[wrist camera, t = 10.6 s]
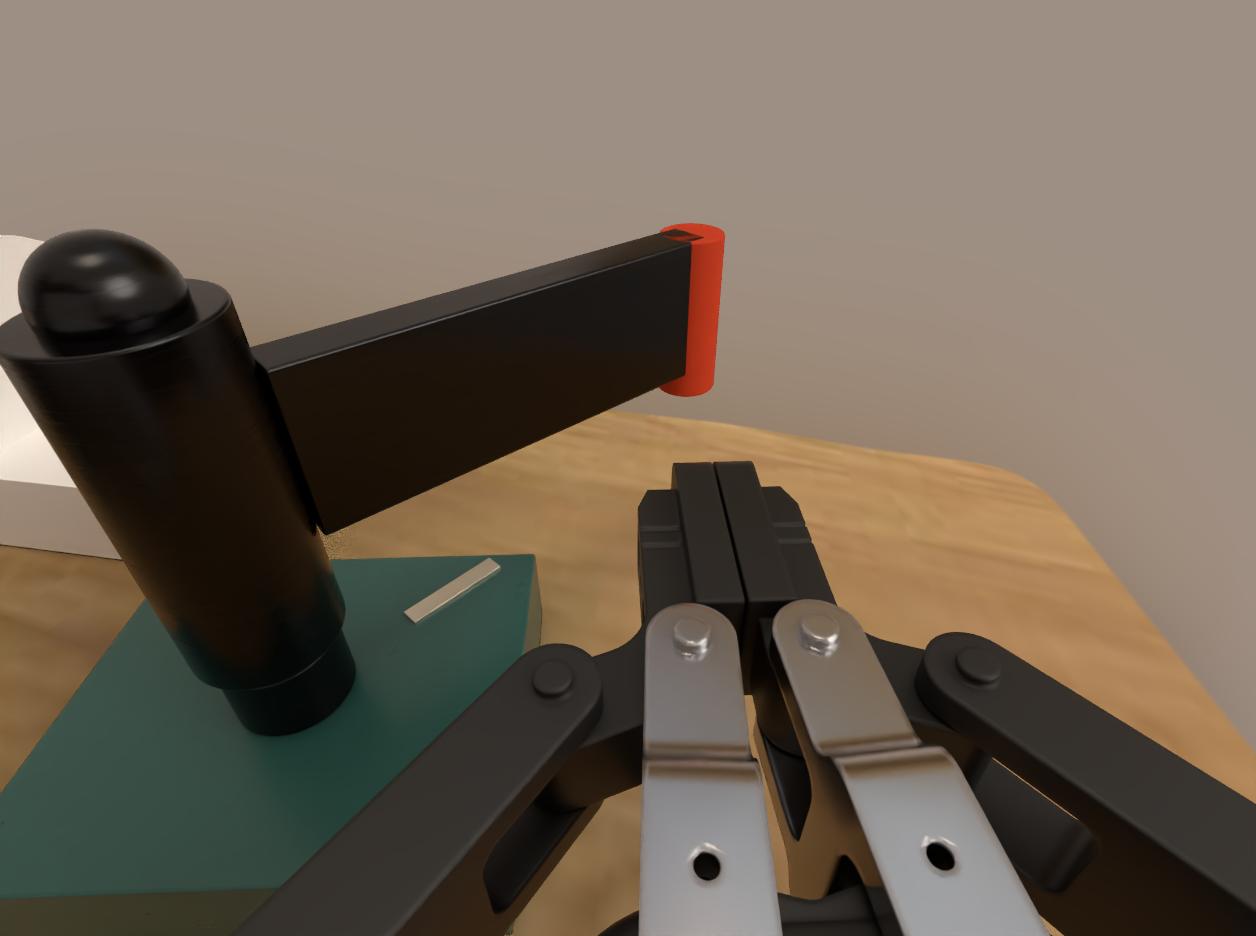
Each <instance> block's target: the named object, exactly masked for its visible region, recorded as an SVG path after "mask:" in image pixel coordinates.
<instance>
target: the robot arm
mask: <svg viewBox="0 0 1256 936" xmlns="http://www.w3.org/2000/svg"><path fill="white" fill-rule="evenodd" d="M638 579H639V593H640V608H641V623H642V626H641V628H640V630H639V631H638V633H637V634H636V635H635V636H634V637H633V638H632V639H631V640H630V641H628V642H627V643H626V644H624V645H622V646H621V647H619V648H617V649H614V650H612V651H609V652H606V653H603V654H600V655H597V656H594V657H592V656H591V655H590V654H588V653H587V652H585V651H584V650H582V649H580V648H578V647H575V646H572V645H568V644H547V645H543V646H539V647H537V648H534V649H532V650H530V651H528V652H527V653H525V654H523V655H522V656H521V657H520V658H518V659H517V660H516V661H515V662H514V663H513V664H512V665H511V666H510V667H509V668H508V669H507V670H506V671H505V672H504V673H503V674H502V675H501V676H500V677H499V678H498V679H496V680H495V681H494V682H493V683H492V684H491V685H490V686H489V687H488V688H487V689H486V690H485V691H484V692H483V693H482V694H481V695H480V696H479V697H478V698H477V699H476V700H475V701H474V702H472V703H471V704H470V705H469V706H468V707H467V708H466V709H465V710H464V711H463V712H462V713H461V714H460V715H459V716H458V717H457V718H456V719H455V720H454V721H453V722H452V723H451V724H450V725H448V726H447V727H446V728H445V729H444V730H443V731H442V732H441V733H440V734H439V735H438V736H437V737H436V738H435V739H434V740H433V741H432V742H431V743H430V744H429V745H428V746H427V747H426V748H424V749H423V750H422V751H421V752H420V753H419V754H418V755H417V756H416V757H415V758H414V759H413V760H412V761H411V762H410V763H409V764H408V765H407V766H406V767H405V768H404V769H403V770H402V771H400V772H399V773H398V774H397V775H396V776H395V777H394V778H393V779H392V780H391V781H390V782H389V783H388V784H387V785H386V786H385V787H384V788H383V789H382V790H381V791H380V792H379V793H378V794H377V795H375V796H374V797H373V798H372V799H371V800H370V801H369V802H368V803H367V804H366V805H365V806H364V807H363V808H362V809H361V810H360V811H359V812H358V813H357V814H356V815H355V816H354V817H353V818H351V819H350V820H349V821H348V822H347V823H346V824H345V825H344V826H343V827H342V828H341V829H340V830H339V831H338V832H337V833H336V834H335V835H334V836H333V837H332V838H331V839H330V840H329V841H327V842H326V843H325V844H324V845H323V846H322V847H321V848H320V849H319V850H318V851H317V852H316V853H315V854H314V855H313V856H312V857H311V858H310V859H309V860H308V861H307V862H306V863H305V864H303V865H302V866H301V867H300V868H299V869H298V870H297V871H296V872H295V873H294V874H293V875H292V876H291V877H290V878H289V879H288V880H287V881H286V882H285V883H284V884H283V885H282V886H281V887H280V888H278V889H277V890H276V891H275V892H274V893H273V894H272V895H271V896H270V897H269V898H268V899H267V900H266V901H265V902H264V903H263V904H262V905H261V906H260V907H259V908H258V909H257V910H256V911H254V912H253V913H252V914H251V915H250V916H249V917H248V918H247V919H246V920H245V921H244V922H243V923H242V924H241V925H240V926H239V927H238V928H237V929H236V930H235V931H234V932H233V933H232V934H230V935H229V936H503V935H504V934H505V933H506V931H507V930H508V929H509V927H510V926H511V925H512V923H513V922H514V921H515V919H516V918H517V917H518V915H519V914H520V913H521V912H522V910H523V909H524V908H525V906H526V905H527V904H528V902H529V901H530V900H531V898H532V897H533V896H534V894H535V893H536V892H537V890H538V889H539V888H540V886H541V885H542V884H543V882H544V881H545V880H546V878H547V877H548V876H549V875H550V873H551V872H552V871H553V869H554V868H555V867H556V865H557V864H558V863H559V861H560V860H561V859H562V857H563V856H564V855H565V853H566V852H567V851H568V849H569V848H570V847H571V845H572V844H573V843H574V841H575V840H576V839H577V837H578V836H579V835H580V834H581V832H582V831H583V830H584V828H585V827H586V826H587V824H588V823H589V822H590V820H591V819H592V818H593V816H594V815H595V814H596V812H597V811H598V810H599V808H600V806H601V805H602V803H603V801H604V799H606V798H608V797H611V796H613V795H616V794H618V793H621V792H623V791H626V790H628V789H631V788H633V787H636V786H638V785H641V784H642V807H641V852H640V897H639V911H636V912H634V913H632V914H630V915H628V916H626V917H624V918H622V919H621V920H619V921H617V922H615V923H614V924H612V925H611V926H610V927H608V928H607V929H606V930H604V931H603V932H602V933H600V934H599V935H598V936H1052V935H1050V934H1049V932H1048V930H1047V928H1046V927H1045V925H1044V923H1043V921H1042V919H1041V917H1040V916H1042V917H1043V918H1044V919H1045V920H1046V921H1047V922H1049V923H1050V924H1051V925H1052V926H1053V927H1055V928H1056V929H1057V930H1058V931H1059V932H1061V933H1062V934H1063V935H1064V936H1256V804H1255V803H1253V802H1252V801H1250V800H1248V799H1247V798H1245V797H1244V796H1242V795H1240V794H1239V793H1237V792H1235V791H1234V790H1232V789H1231V788H1229V787H1227V786H1226V785H1224V784H1223V783H1221V782H1219V781H1218V780H1216V779H1214V778H1213V777H1211V776H1210V775H1208V774H1206V773H1205V772H1203V771H1202V770H1200V769H1198V768H1197V767H1195V766H1193V765H1192V764H1190V763H1189V762H1187V761H1185V760H1184V759H1182V758H1181V757H1179V756H1177V755H1176V754H1174V753H1172V752H1171V751H1169V750H1168V749H1166V748H1164V747H1163V746H1161V745H1159V744H1158V743H1156V742H1155V741H1153V740H1151V739H1150V738H1148V737H1147V736H1145V735H1143V734H1142V733H1140V732H1138V731H1137V730H1135V729H1134V728H1132V727H1130V726H1129V725H1127V724H1126V723H1124V722H1122V721H1121V720H1119V719H1117V718H1116V717H1114V716H1113V715H1111V714H1109V713H1108V712H1106V711H1105V710H1103V709H1101V708H1100V707H1098V706H1096V705H1095V704H1093V703H1092V702H1090V701H1088V700H1087V699H1085V698H1084V697H1082V696H1080V695H1079V694H1077V693H1075V692H1074V691H1072V690H1071V689H1069V688H1067V687H1066V686H1064V685H1062V684H1061V683H1059V682H1058V681H1056V680H1054V679H1053V678H1051V677H1050V676H1048V675H1046V674H1045V673H1043V672H1041V671H1040V670H1038V669H1037V668H1035V667H1033V666H1032V665H1030V664H1029V663H1027V662H1025V661H1024V660H1022V659H1020V658H1019V657H1017V656H1016V655H1014V654H1012V653H1011V652H1009V651H1008V650H1006V649H1004V648H1003V647H1001V646H999V645H998V644H996V643H994V642H992V641H990V640H988V639H986V638H983V637H981V636H978V635H974V634H970V633H964V632H950V633H945V634H941V635H939V636H937V637H935V638H934V639H932V640H931V641H930V642H929V644H928V645H927V647H926V650H923V649H919V648H915V647H910V646H906V645H902V644H897V643H893V642H889V641H885V640H882V639H879V638H876V637H874V636H871V635H869V634H867V633H865V632H864V631H863V629H862V627H861V626H860V624H859V623H858V622H857V620H856V619H855V618H854V617H853V616H852V615H851V614H849V613H848V612H847V611H845V610H844V609H842V608H840V607H838V606H837V604H836V602H835V599H834V597H833V594H832V591H831V589H830V586H829V584H828V581H827V578H826V576H825V573H824V571H823V568H822V565H821V563H820V560H819V558H818V555H817V552H816V550H815V547H814V545H813V543H812V542H811V537H810V534H809V531H808V529H807V527H805V521H804V518H803V516H802V513H801V511H800V508H799V505H798V503H797V502H796V501H795V500H794V499H793V498H792V497H791V496H790V495H789V494H788V493H786V492H785V491H784V490H783V489H782V488H781V487H780V486H775V487H761V486H760V483H759V479H758V476H757V473H756V470H755V467H754V464H753V462H752V461H732V462H713V464H712V463H711V462H699V463H673V466H672V483H671V489H669V490H647V492H646V494H645V496H644V497H643V499H642V501H641V503H640V505H639V507H638ZM744 695H752V696H753V700H754V705H755V709H756V718H755V724H754V740H755V744H756V747H757V751H758V754H759V758H760V761H761V765H762V768H763V772H764V775H765V779H766V782H767V785H768V789H769V792H770V796H771V799H772V803H773V806H774V810H775V813H776V817H777V820H778V824H779V827H780V830H781V834H782V837H783V841H784V844H785V848H786V853H787V859H788V868H789V887H790V894H791V896H790V895H786V894H782V893H778V892H777V888H776V880H775V872H774V865H773V857H772V849H771V841H770V834H769V826H768V818H767V810H766V803H765V795H764V787H763V780H762V774H761V769H760V765H759V762H758V760H757V759H756V758H753V757H752V754H751V749H750V741H749V733H748V724H747V716H746V708H745V699H744ZM992 758H995V759H996V760H997V761H999V762H1000V763H1002V764H1003V765H1004V766H1006V767H1007V768H1008V769H1010V770H1011V771H1013V772H1014V773H1015V774H1017V775H1018V776H1019V777H1021V778H1022V779H1024V780H1025V781H1026V782H1028V783H1029V784H1030V785H1032V786H1033V787H1034V788H1036V789H1037V790H1039V791H1040V792H1041V793H1043V794H1044V795H1045V796H1047V797H1048V798H1050V799H1051V800H1052V801H1054V802H1055V803H1056V804H1058V805H1059V806H1061V807H1062V808H1063V809H1065V810H1066V811H1067V812H1069V813H1070V814H1072V815H1073V816H1074V817H1076V818H1077V819H1078V820H1077V819H1075V818H1073V817H1072V816H1070V815H1069V814H1068V813H1066V812H1065V811H1063V810H1062V809H1061V808H1059V807H1058V806H1057V805H1055V804H1054V803H1052V802H1051V801H1050V800H1048V799H1047V798H1046V797H1044V796H1043V795H1042V794H1040V793H1039V792H1037V791H1036V790H1035V789H1033V788H1032V787H1031V786H1029V785H1028V784H1026V783H1025V782H1024V781H1022V780H1021V779H1020V778H1018V777H1017V776H1015V775H1014V774H1013V773H1011V772H1010V771H1009V770H1007V769H1006V768H1005V767H1003V766H1002V765H1000V764H999V763H998V762H996V761H995V760H994V759H992ZM1079 820H1080V821H1079ZM1039 915H1040V916H1039Z"/></svg>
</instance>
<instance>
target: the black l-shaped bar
mask: <svg viewBox="0 0 1256 936" xmlns="http://www.w3.org/2000/svg"><path fill="white" fill-rule="evenodd" d="M724 241H725V234H724V232H723V231H722V230H721V229H719V228H717V227H714V226H710V225H704V224H693V223H688V224H677V225H672V226H668V227H666V228H663V229H662V230H661V231H660V233H658V234H654V235H651V236H647V237H643V238H640V239H636V240H633V241H629V242H626V243H622V244H618V245H615V246H611V247H608V248H604V249H601V250H597V251H593V252H590V253H587V254H583V255H579V256H575V257H572V258H568V259H565V260H561V261H558V262H554V263H550V264H547V265H543V266H540V267H536V268H533V269H529V270H526V271H522V272H519V273H515V274H511V275H507V276H504V277H501V278H497V279H493V280H490V281H486V282H482V283H479V284H476V285H472V286H469V287H465V288H461V289H458V290H454V291H450V292H447V293H443V294H440V295H436V296H433V297H429V298H426V299H422V300H418V301H415V302H411V303H408V304H404V305H400V306H397V307H394V308H390V309H386V310H383V311H379V312H375V313H372V314H368V315H364V316H361V317H357V318H354V319H350V320H346V321H343V322H339V323H336V324H332V325H329V326H325V327H321V328H318V329H314V330H311V331H308V332H304V333H300V334H296V335H293V336H289V337H286V338H282V339H279V340H275V341H271V342H268V343H265V344H261V345H257V346H253V347H249V344H248V341H247V339H246V336H245V333H244V331H243V328H242V325H241V322H240V320H239V317H238V314H237V312H236V309H235V306H234V304H233V301H232V299H231V296H230V295H229V293H228V292H227V291H226V290H225V289H224V288H223V287H221V286H219V285H217V284H215V283H211V282H208V281H202V280H196V279H184V278H183V276H182V275H181V273H180V272H179V270H178V269H177V268H176V267H175V265H174V264H173V263H172V262H171V261H170V260H169V259H168V258H167V257H166V256H165V255H163V254H162V253H161V252H159V251H158V250H156V249H155V248H154V247H152V246H151V245H149V244H147V243H145V242H144V241H141V240H139V239H137V238H134V237H132V236H129V235H126V234H123V233H119V232H115V231H109V230H101V229H83V230H75V231H70V232H66V233H63V234H60V235H58V236H55V237H53V238H51V239H49V240H47V241H46V242H44V243H43V244H41V245H40V246H39V247H37V248H36V249H35V250H34V251H33V252H32V253H31V254H30V256H29V257H28V258H27V260H26V261H25V263H24V265H23V267H22V270H21V272H20V276H19V279H18V300H19V305H20V308H21V311H22V312H21V313H20V314H18V315H16V316H14V317H12V318H11V319H9V320H8V321H6V322H4V323H3V324H2V325H1V326H0V365H1V367H2V369H3V370H4V372H5V373H6V375H7V377H8V378H9V380H10V381H11V383H12V385H13V386H14V388H15V389H16V391H17V393H18V394H19V396H20V397H21V399H22V401H23V402H24V404H25V405H26V407H27V409H28V410H29V412H30V413H31V415H32V417H33V418H34V420H35V421H36V423H37V425H38V426H39V428H40V429H41V431H42V433H43V434H44V436H45V437H46V439H47V440H48V442H49V444H50V445H51V447H52V448H53V450H54V452H55V453H56V455H57V456H58V458H59V460H60V461H61V463H62V464H63V466H64V468H65V469H66V471H67V472H68V474H69V476H70V477H71V479H72V480H73V482H74V484H75V485H76V487H77V488H78V490H79V492H80V493H81V495H82V496H83V498H84V500H85V501H86V503H87V504H88V506H89V508H90V509H91V511H92V512H93V514H94V516H95V517H96V519H97V520H98V522H99V524H100V525H101V527H102V528H103V530H104V532H105V533H106V535H107V536H108V538H109V539H110V541H111V543H112V544H113V546H114V547H115V549H116V551H117V552H118V554H119V555H120V557H121V559H122V560H123V562H124V563H125V565H126V567H127V568H128V570H129V571H130V573H131V575H132V576H133V578H134V579H135V581H136V583H137V584H138V586H139V587H140V589H141V591H142V592H143V594H144V595H145V597H146V599H147V600H148V602H149V603H150V605H151V607H152V608H153V610H154V611H155V613H156V615H157V616H158V618H159V619H160V621H161V623H162V624H163V626H164V627H165V629H166V631H167V632H168V634H169V635H170V637H171V639H172V640H173V642H174V643H175V645H176V646H177V648H178V650H179V651H180V653H181V654H182V656H183V658H184V659H185V661H186V662H187V664H188V666H189V667H190V669H191V670H192V672H193V674H194V675H195V676H196V677H197V678H198V679H199V680H201V681H202V682H203V683H205V684H207V685H210V686H212V687H215V688H218V689H222V690H231V691H242V690H251V689H257V688H262V687H265V686H269V685H272V684H275V683H278V682H280V681H283V680H285V679H287V678H289V677H291V676H293V675H295V674H297V673H299V672H300V671H302V670H304V669H305V668H307V667H308V666H309V665H311V664H312V663H314V662H315V661H316V660H317V659H318V658H319V657H321V656H322V655H323V654H324V653H325V652H326V651H327V650H328V649H329V648H330V646H331V645H332V644H333V642H334V641H335V640H336V638H337V636H338V635H339V633H340V631H341V629H342V626H343V623H344V620H345V614H346V606H345V601H344V598H343V595H342V593H341V590H340V587H339V585H338V582H337V579H336V577H335V574H334V571H333V569H332V566H331V563H330V561H329V558H328V555H327V553H326V550H325V547H324V545H323V542H322V539H321V537H320V534H319V531H318V529H317V526H318V527H319V529H320V530H321V531H322V533H323V534H325V535H329V534H331V533H334V532H336V531H338V530H340V529H343V528H345V527H347V526H349V525H352V524H354V523H356V522H358V521H361V520H363V519H365V518H367V517H369V516H372V515H374V514H376V513H378V512H381V511H383V510H385V509H387V508H390V507H392V506H394V505H396V504H399V503H401V502H403V501H405V500H408V499H410V498H412V497H414V496H416V495H419V494H421V493H423V492H425V491H428V490H430V489H432V488H434V487H437V486H439V485H441V484H443V483H446V482H448V481H450V480H452V479H454V478H457V477H459V476H461V475H463V474H466V473H468V472H470V471H472V470H475V469H477V468H479V467H481V466H484V465H486V464H488V463H490V462H493V461H495V460H497V459H499V458H501V457H504V456H506V455H508V454H510V453H513V452H515V451H517V450H519V449H522V448H524V447H526V446H528V445H531V444H533V443H535V442H537V441H540V440H542V439H544V438H546V437H548V436H551V435H553V434H555V433H557V432H560V431H562V430H564V429H566V428H569V427H571V426H573V425H575V424H578V423H580V422H582V421H584V420H586V419H589V418H591V417H593V416H595V415H598V414H600V413H602V412H604V411H607V410H609V409H611V408H613V407H616V406H618V405H620V404H622V403H625V402H627V401H629V400H631V399H633V398H635V397H638V396H640V395H642V394H644V393H647V392H649V391H651V390H654V389H655V388H658V387H659V388H660V389H661V390H662V391H664V392H666V393H668V394H671V395H675V396H683V397H690V396H697V395H701V394H704V393H706V392H708V391H709V390H710V389H711V388H712V386H713V382H714V369H715V356H716V344H717V330H718V318H719V305H720V292H721V280H722V267H723V254H724ZM316 525H317V526H316Z"/></svg>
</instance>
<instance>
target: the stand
mask: <svg viewBox="0 0 1256 936" xmlns="http://www.w3.org/2000/svg"><path fill="white" fill-rule="evenodd" d="M329 561H330V563H331V566H332V569H333V571H334V574H335V577H336V579H337V582H338V585H339V587H340V590H341V593H342V595H343V598H344V601H345V606H346V614H345V620H344V623H343V626H342V629H341V631H340V633H339V635H338V636H337V638H336V640H335V641H334V642H333V644H332V645H331V646H330V648H329V649H328V650H327V651H326V652H325V653H324V654H323V655H322V656H321V657H319V658H318V659H317V660H316V661H315V662H314V663H312V664H311V665H309V666H308V667H307V668H305V669H304V670H302V671H300V672H299V673H297V674H295V675H293V676H291V677H289V678H287V679H285V680H283V681H280V682H278V683H275V684H272V685H269V686H265V687H262V688H257V689H251V690H242V691H231V690H222V689H218V688H215V687H212V686H210V685H207V684H205V683H203V682H202V681H201V680H199V679H198V678H197V677H196V676H195V675H194V674H193V672H192V670H191V669H190V667H189V666H188V664H187V662H186V661H185V659H184V658H183V656H182V654H181V653H180V651H179V650H178V648H177V646H176V645H175V643H174V642H173V640H172V639H171V637H170V635H169V634H168V632H167V631H166V629H165V627H164V626H163V624H162V623H161V621H160V619H159V618H158V616H157V615H156V613H155V611H154V610H153V608H152V607H151V605H150V603H149V602H148V600H147V599H146V598H145V600H144V601H143V602H142V604H141V605H140V606H139V608H138V609H137V610H136V612H135V613H134V614H133V616H132V617H131V619H130V620H129V621H128V623H127V624H126V625H125V627H124V628H123V629H122V631H121V632H120V633H119V635H118V636H117V637H116V639H115V640H114V641H113V643H112V644H111V645H110V647H109V648H108V650H107V651H106V652H105V654H104V655H103V656H102V658H101V659H100V660H99V662H98V663H97V664H96V666H95V667H94V668H93V670H92V671H91V672H90V674H89V675H88V676H87V678H86V679H85V680H84V682H83V683H82V685H81V686H80V687H79V689H78V690H77V691H76V693H75V694H74V695H73V697H72V698H71V699H70V701H69V702H68V703H67V705H66V706H65V707H64V709H63V710H62V711H61V713H60V714H59V716H58V717H57V718H56V720H55V721H54V722H53V724H52V725H51V726H50V728H49V729H48V730H47V732H46V733H45V734H44V736H43V737H42V738H41V740H40V741H39V742H38V744H37V745H36V746H35V748H34V749H33V751H32V752H31V753H30V755H29V756H28V757H27V759H26V760H25V761H24V763H23V764H22V765H21V767H20V768H19V769H18V771H17V772H16V773H15V775H14V776H13V777H12V779H11V780H10V781H9V783H8V784H7V786H6V787H5V788H4V790H3V791H2V792H1V794H0V936H229V935H230V934H232V933H233V932H234V931H235V930H236V929H237V928H238V927H239V926H240V925H241V924H242V923H243V922H244V921H245V920H246V919H247V918H248V917H249V916H250V915H251V914H252V913H253V912H254V911H256V910H257V909H258V908H259V907H260V906H261V905H262V904H263V903H264V902H265V901H266V900H267V899H268V898H269V897H270V896H271V895H272V894H273V893H274V892H275V891H276V890H277V889H278V888H280V887H281V886H282V885H283V884H284V883H285V882H286V881H287V880H288V879H289V878H290V877H291V876H292V875H293V874H294V873H295V872H296V871H297V870H298V869H299V868H300V867H301V866H302V865H303V864H305V863H306V862H307V861H308V860H309V859H310V858H311V857H312V856H313V855H314V854H315V853H316V852H317V851H318V850H319V849H320V848H321V847H322V846H323V845H324V844H325V843H326V842H327V841H329V840H330V839H331V838H332V837H333V836H334V835H335V834H336V833H337V832H338V831H339V830H340V829H341V828H342V827H343V826H344V825H345V824H346V823H347V822H348V821H349V820H350V819H351V818H353V817H354V816H355V815H356V814H357V813H358V812H359V811H360V810H361V809H362V808H363V807H364V806H365V805H366V804H367V803H368V802H369V801H370V800H371V799H372V798H373V797H374V796H375V795H377V794H378V793H379V792H380V791H381V790H382V789H383V788H384V787H385V786H386V785H387V784H388V783H389V782H390V781H391V780H392V779H393V778H394V777H395V776H396V775H397V774H398V773H399V772H400V771H402V770H403V769H404V768H405V767H406V766H407V765H408V764H409V763H410V762H411V761H412V760H413V759H414V758H415V757H416V756H417V755H418V754H419V753H420V752H421V751H422V750H423V749H424V748H426V747H427V746H428V745H429V744H430V743H431V742H432V741H433V740H434V739H435V738H436V737H437V736H438V735H439V734H440V733H441V732H442V731H443V730H444V729H445V728H446V727H447V726H448V725H450V724H451V723H452V722H453V721H454V720H455V719H456V718H457V717H458V716H459V715H460V714H461V713H462V712H463V711H464V710H465V709H466V708H467V707H468V706H469V705H470V704H471V703H472V702H474V701H475V700H476V699H477V698H478V697H479V696H480V695H481V694H482V693H483V692H484V691H485V690H486V689H487V688H488V687H489V686H490V685H491V684H492V683H493V682H494V681H495V680H496V679H498V678H499V677H500V676H501V675H502V674H503V673H504V672H505V671H506V670H507V669H508V668H509V667H510V666H511V665H512V664H513V663H514V662H515V661H516V660H517V659H518V658H520V657H521V656H522V655H523V654H525V653H527V652H528V651H530V650H532V649H534V648H537V647H539V644H540V633H541V623H542V608H541V599H540V591H539V583H538V575H537V567H536V558H535V555H534V554H519V555H483V556H446V557H410V558H374V559H337V560H329ZM512 930H513V923H512V925H511V926H510V927H509V929H508V930H507V931H506V933H505V934H509V933H511V932H512Z"/></svg>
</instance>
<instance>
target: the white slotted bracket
mask: <svg viewBox="0 0 1256 936" xmlns="http://www.w3.org/2000/svg"><path fill="white" fill-rule="evenodd" d="M43 243H44V241H39V240H35V239H30V238H26V237H21V236H9V235H0V326H1V325H2V324H3V323H4V322H6V321H8V320H9V319H11V318H12V317H14V316H16V315H18V314H20V313H21V312H22V311H21V308H20V305H19V300H18V279H19V276H20V272H21V270H22V267H23V265H24V263H25V261H26V260H27V258H28V257H29V256H30V254H31V253H32V252H33V251H34V250H35V249H36V248H37V247H39V246H40V245H41V244H43ZM0 544H3V545H11V546H19V547H26V548H34V549H42V550H50V551H58V552H66V553H74V554H82V555H89V556H97V557H105V558H113V559H121V557H120V555H119V554H118V552H117V551H116V549H115V547H114V546H113V544H112V543H111V541H110V539H109V538H108V536H107V535H106V533H105V532H104V530H103V528H102V527H101V525H100V524H99V522H98V520H97V519H96V517H95V516H94V514H93V512H92V511H91V509H90V508H89V506H88V504H87V503H86V501H85V500H84V498H83V496H82V495H81V493H80V492H79V490H78V488H77V487H76V485H75V484H74V482H73V480H72V479H71V477H70V476H69V474H68V472H67V471H66V469H65V468H64V466H63V464H62V463H61V461H60V460H59V458H58V456H57V455H56V453H55V452H54V450H53V448H52V447H51V445H50V444H49V442H48V440H47V439H46V437H45V436H44V434H43V433H42V431H41V429H40V428H39V426H38V425H37V423H36V421H35V420H34V418H33V417H32V415H31V413H30V412H29V410H28V409H27V407H26V405H25V404H24V402H23V401H22V399H21V397H20V396H19V394H18V393H17V391H16V389H15V388H14V386H13V385H12V383H11V381H10V380H9V378H8V377H7V375H6V373H5V372H4V370H3V369H2V367H1V365H0ZM121 560H122V559H121Z"/></svg>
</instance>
